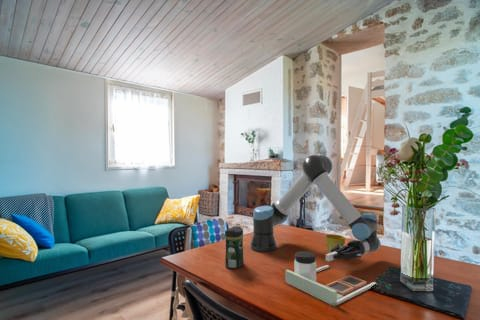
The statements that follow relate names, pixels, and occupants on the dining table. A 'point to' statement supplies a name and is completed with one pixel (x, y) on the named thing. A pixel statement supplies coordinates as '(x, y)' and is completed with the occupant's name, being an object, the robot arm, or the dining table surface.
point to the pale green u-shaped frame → (328, 287)
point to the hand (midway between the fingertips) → (327, 257)
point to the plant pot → (334, 241)
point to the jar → (305, 264)
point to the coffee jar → (234, 247)
